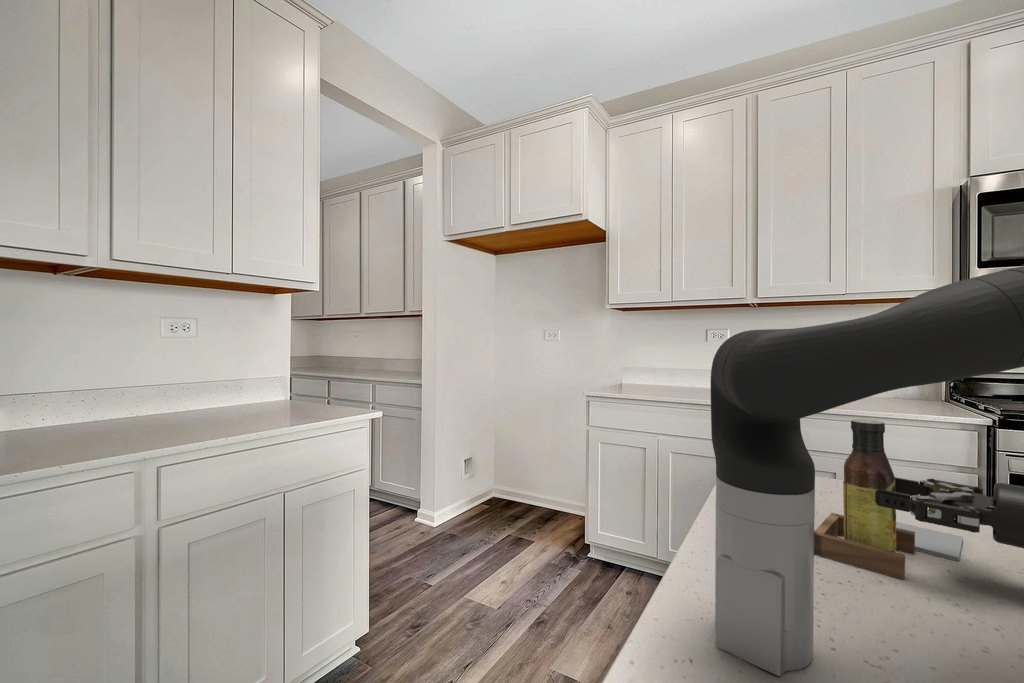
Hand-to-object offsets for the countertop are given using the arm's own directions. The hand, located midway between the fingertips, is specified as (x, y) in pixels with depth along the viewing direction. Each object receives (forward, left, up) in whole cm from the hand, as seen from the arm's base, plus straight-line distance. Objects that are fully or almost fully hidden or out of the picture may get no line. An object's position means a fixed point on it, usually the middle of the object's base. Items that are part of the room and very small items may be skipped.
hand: (881, 489), depth 69 cm
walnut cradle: (0, +1, -10) cm, 10 cm away
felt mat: (+12, -4, -10) cm, 16 cm away
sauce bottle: (0, +1, -10) cm, 10 cm away
